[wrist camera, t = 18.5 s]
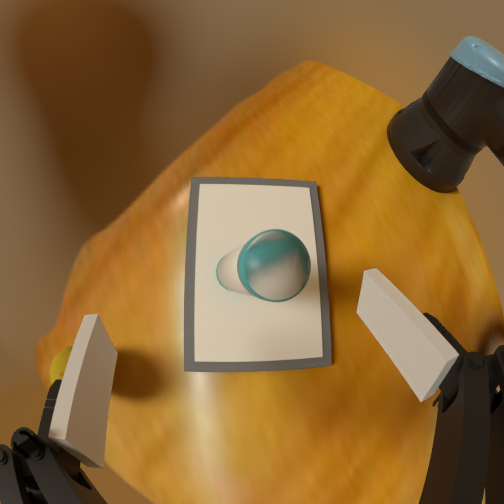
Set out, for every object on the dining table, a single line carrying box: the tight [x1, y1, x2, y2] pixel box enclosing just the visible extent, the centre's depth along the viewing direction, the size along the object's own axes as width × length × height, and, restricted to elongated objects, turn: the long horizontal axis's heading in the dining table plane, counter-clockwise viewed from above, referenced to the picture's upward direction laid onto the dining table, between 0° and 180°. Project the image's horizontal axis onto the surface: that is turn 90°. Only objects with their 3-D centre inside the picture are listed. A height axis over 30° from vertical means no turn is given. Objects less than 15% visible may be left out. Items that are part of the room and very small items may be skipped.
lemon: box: [50, 346, 114, 386], centre depth 19 cm, size 6×6×8 cm
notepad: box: [184, 177, 332, 372], centre depth 27 cm, size 14×20×1 cm
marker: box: [216, 229, 311, 302], centre depth 20 cm, size 4×4×12 cm
